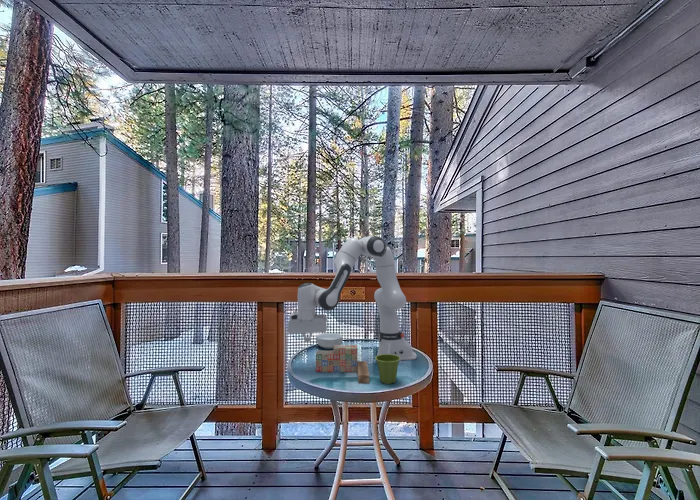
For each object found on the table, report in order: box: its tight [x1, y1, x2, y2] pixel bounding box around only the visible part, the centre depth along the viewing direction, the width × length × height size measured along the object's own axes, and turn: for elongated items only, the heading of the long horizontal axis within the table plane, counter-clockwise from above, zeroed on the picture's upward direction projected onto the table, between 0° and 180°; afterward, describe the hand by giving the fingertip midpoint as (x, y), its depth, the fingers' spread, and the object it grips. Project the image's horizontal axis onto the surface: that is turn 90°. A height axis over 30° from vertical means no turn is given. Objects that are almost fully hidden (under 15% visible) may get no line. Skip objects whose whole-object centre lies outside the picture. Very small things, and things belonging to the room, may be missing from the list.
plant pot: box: [374, 354, 401, 385], centre depth 168 cm, size 12×12×11 cm
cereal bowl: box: [315, 332, 343, 350], centre depth 224 cm, size 17×17×7 cm
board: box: [357, 360, 370, 384], centre depth 176 cm, size 5×20×4 cm, turn 0°
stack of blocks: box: [315, 344, 359, 373], centre depth 183 cm, size 21×6×12 cm, turn 90°
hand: (307, 341), depth 184 cm, fingers closed
